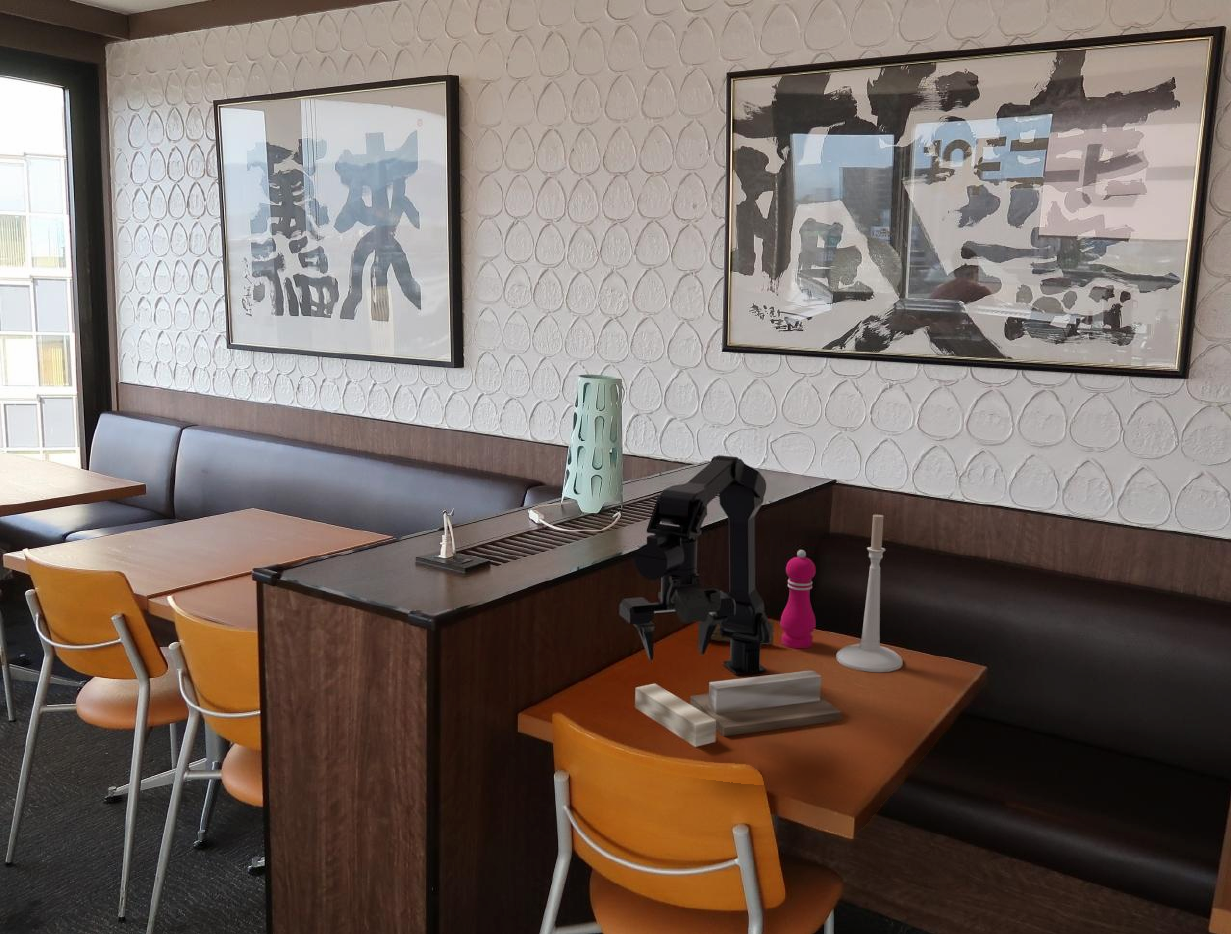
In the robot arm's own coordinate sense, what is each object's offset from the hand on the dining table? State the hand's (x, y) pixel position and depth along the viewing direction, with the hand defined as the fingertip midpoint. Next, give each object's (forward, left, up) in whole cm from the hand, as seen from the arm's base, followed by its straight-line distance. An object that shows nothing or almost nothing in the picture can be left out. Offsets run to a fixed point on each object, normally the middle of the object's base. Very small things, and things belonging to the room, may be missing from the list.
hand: (676, 656), depth 173 cm
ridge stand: (0, +17, -12) cm, 21 cm away
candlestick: (-17, +49, -12) cm, 53 cm away
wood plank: (-35, +28, -12) cm, 46 cm away
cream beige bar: (0, 0, -12) cm, 12 cm away
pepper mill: (-30, +40, -12) cm, 51 cm away
